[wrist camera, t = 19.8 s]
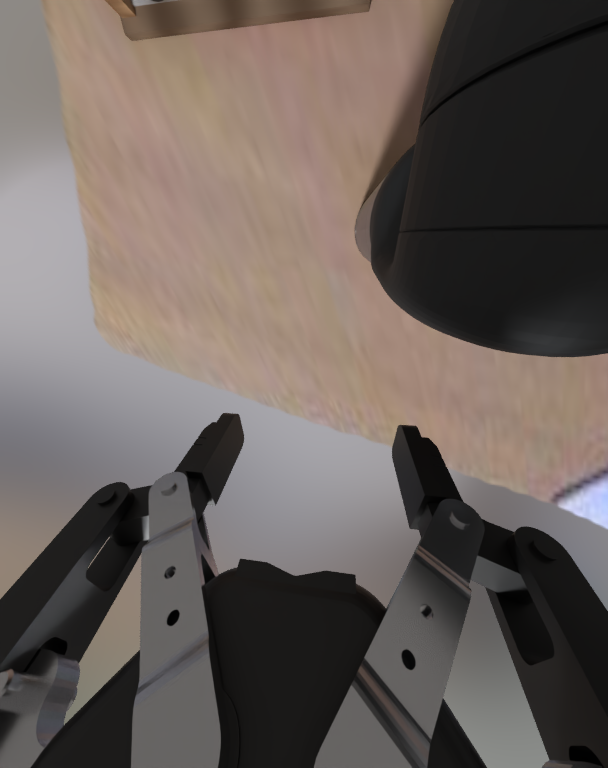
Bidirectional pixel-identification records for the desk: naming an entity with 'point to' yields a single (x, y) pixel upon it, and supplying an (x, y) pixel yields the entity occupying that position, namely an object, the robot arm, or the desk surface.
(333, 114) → the desk surface
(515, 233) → the robot arm
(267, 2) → the track
